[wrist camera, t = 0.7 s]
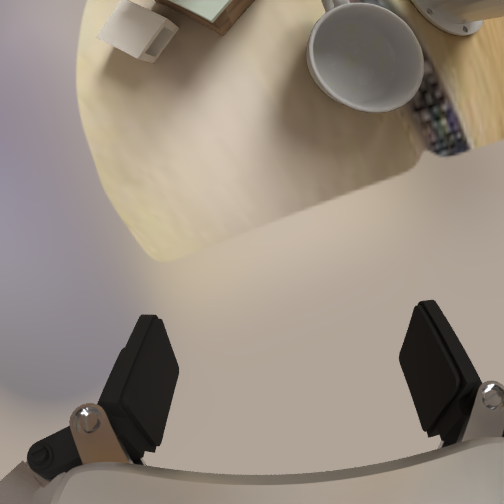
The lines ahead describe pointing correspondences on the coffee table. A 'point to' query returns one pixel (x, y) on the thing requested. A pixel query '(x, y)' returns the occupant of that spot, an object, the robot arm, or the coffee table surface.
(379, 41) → the teacup
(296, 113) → the coffee table surface
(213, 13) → the lid
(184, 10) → the brown wooden box
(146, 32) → the matte white cube
